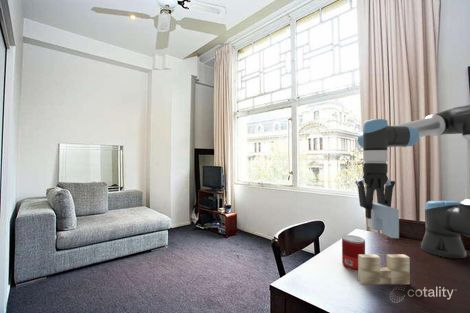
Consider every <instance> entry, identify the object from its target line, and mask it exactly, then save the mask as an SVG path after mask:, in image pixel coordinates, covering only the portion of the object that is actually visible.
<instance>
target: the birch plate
mask: <svg viewBox="0 0 470 313" xmlns="http://www.w3.org/2000/svg"><path fill="white" fill-rule="evenodd" d="M385 257H386V258H385V259H386V267H381V262H382V260H381V259H382V258H381V257H380V256H379V255H378V254H377V253H376V254H374V253H373V254H370V253H369V254H368V253H367V254H366V253H365V254H358V271H357V273H358V274H357V276H358V278H357V279H358V282H360V284H362V285H410V284H411V282H410V280H411V278H410V276H411V274H410V272H411V270H410V268H411V267H410V262H411V261H410V258H411V257H410V256H408V255H406V254H405V253H404V254H402V253H401V254H400V253H398V254H393V253H392V254H390V253H389V254H386V256H385Z"/></svg>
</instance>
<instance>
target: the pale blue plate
mask: <svg viewBox="0 0 470 313" xmlns="http://www.w3.org/2000/svg"><path fill="white" fill-rule="evenodd" d="M372 210H374V229H373V230H374V231H382V234H383V235H385V236H386V237H388V238H390V239H399V238H400V210H399V209H397V208H394V207H392V206H391V207H389V206H385V205H382V204H379V203H378V202H376V201H375V202H374V201H373V204H372Z"/></svg>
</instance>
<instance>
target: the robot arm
mask: <svg viewBox="0 0 470 313" xmlns="http://www.w3.org/2000/svg"><path fill="white" fill-rule="evenodd" d="M362 128H363V130H362V132H361V133H360V134H359V135H358V137H357V143H358V146H359V147H361V148H362V149H363V150H362V152H363V153H362V154H363V158H362V159H363V160H362V161H363V162H364V163H363V164H362V165H363V166H362V168H363V170H362V172H363V176H362V178H361V179H359V180H358V179H356V180H355V184H356V186H357V192H358V198H359V199H358V200H359V206H360V207H361V208H363V209H365V218H366V219H367V227H369V228H370V229H373V230H374V210H372V204H373V202H374V195H375V191H376V197H377V198H376V199H377V200H376V201H377V203H379V204H382V205H385V206H389V207H392V199H393V191H394V186H395V184H396V181H395V180H391V179H390V178H389V176H388V175H387V174H388V171H389V170H388V169H389V168H388V163H387V162H388V161H389V159H388V155H389V153H388V152H389V151H388V148H395V147H396V148H397V147H399V148H400V147H402V148H406V147H412V146H415V145H416V144H417V143H418V141H419V139H420V138H421V137H426V136H433V137H434V136H440V135H441V136H442V135H456V134H457V135H458V134H459V135H461V136H462V138H464V140H466V142H467V143H466V144H467V145H466V162H465V163H466V165H465V167H466V169H465V185H464V186H465V188H464V190H465V192H464V199H463V200H461V201H456V200H455V201H454V200H428V201H426V203H425V209H424V213H425V214H424V215H425V217H424V219H425V233H424V235H423V238H422V241H421V242H420V249H421V250H422V251H424V252H426V253H428V254H430V253H431V255H433V254H434V256H436V255H438V256H437V257H440V256H442V257H441V258H445V257H449V258H448V259H451V258H463V257H466V258H467V250H466V249H465V246H464V243H463V241H462V239H461V238H462V237H461V235H462V236H464V237H465V236H466V237H469V238H470V104H466V105H460V106H457V107H456V106H455V107H452V108H449V109H446V110H444V111H440V112H437V113H434V114H430V115H427V116H426V117H425V118H421V119H416V120H414V121H413V120H411V121H408V122H403V123H399V124H395V125H389V124H388V120H387V119H384V118H376V119H375V118H374V119H369V120H365V121H364V122H363V126H362ZM365 185H366V186H365Z"/></svg>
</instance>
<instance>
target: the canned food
mask: <svg viewBox="0 0 470 313" xmlns="http://www.w3.org/2000/svg"><path fill="white" fill-rule="evenodd" d="M341 241H342V242H341V253H342V255H341V259H342V260H341V261H342V265H343V266H344V267H345V268H346V269H349V270H350V271H355V272H356V271H357V272H358V254H366V240H365V238H363V237H361V236H359V235H351V234H346V235H343V236H342V238H341Z"/></svg>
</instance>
